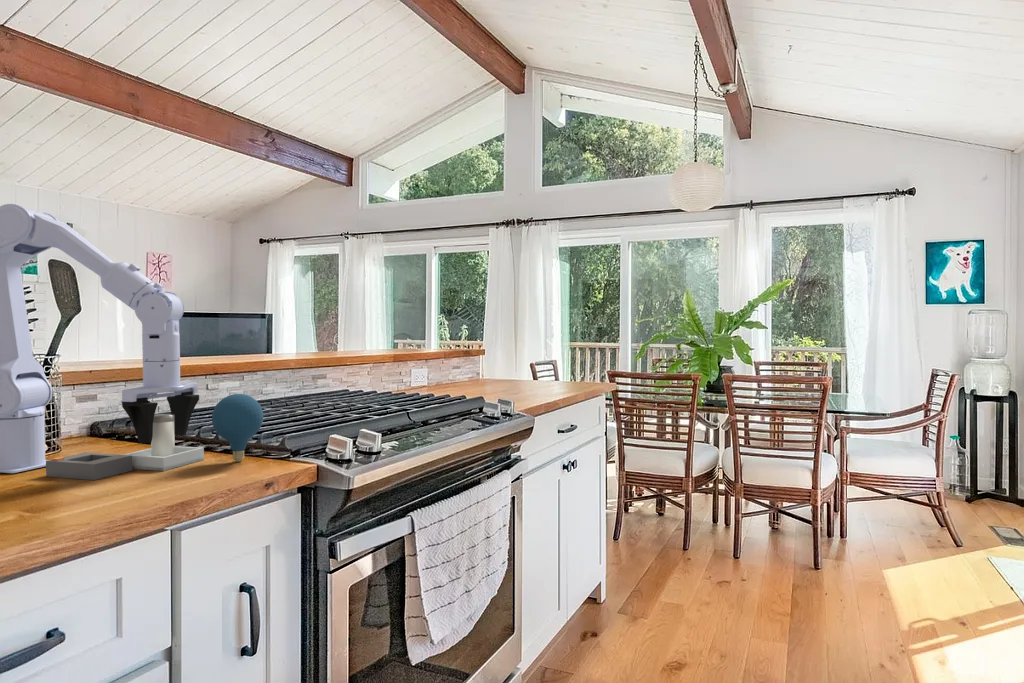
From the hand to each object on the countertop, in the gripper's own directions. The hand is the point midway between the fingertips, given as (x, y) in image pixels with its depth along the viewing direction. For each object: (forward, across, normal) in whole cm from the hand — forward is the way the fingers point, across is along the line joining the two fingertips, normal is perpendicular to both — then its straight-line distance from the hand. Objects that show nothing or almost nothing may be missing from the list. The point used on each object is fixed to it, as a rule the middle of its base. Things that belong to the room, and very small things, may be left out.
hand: (163, 438), depth 112 cm
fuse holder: (+4, -9, +6) cm, 12 cm away
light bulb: (+5, +5, -12) cm, 13 cm away
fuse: (+4, 0, 0) cm, 4 cm away
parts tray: (+4, 0, 0) cm, 4 cm away
